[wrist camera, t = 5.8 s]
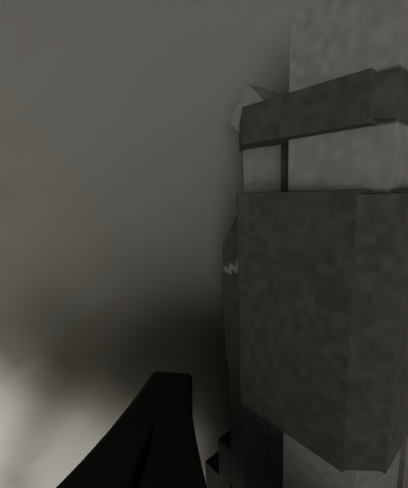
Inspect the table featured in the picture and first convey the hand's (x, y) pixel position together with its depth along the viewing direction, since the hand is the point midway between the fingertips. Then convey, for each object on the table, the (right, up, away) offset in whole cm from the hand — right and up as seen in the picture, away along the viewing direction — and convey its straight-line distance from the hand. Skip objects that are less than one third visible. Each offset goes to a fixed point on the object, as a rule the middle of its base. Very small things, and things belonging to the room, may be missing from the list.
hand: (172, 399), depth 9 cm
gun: (+1, 0, +1) cm, 2 cm away
